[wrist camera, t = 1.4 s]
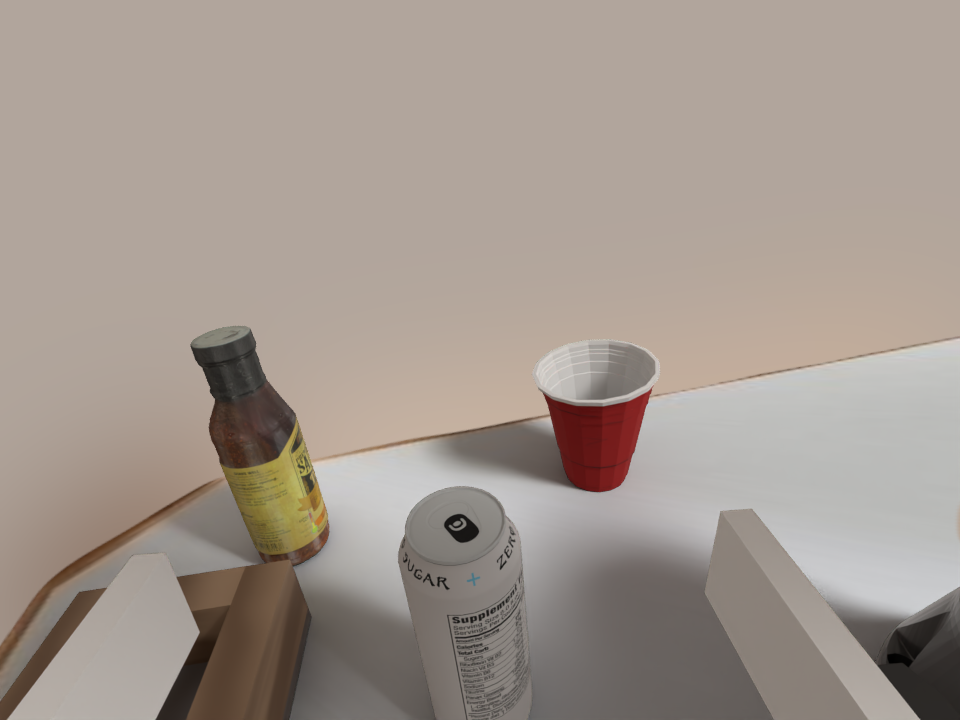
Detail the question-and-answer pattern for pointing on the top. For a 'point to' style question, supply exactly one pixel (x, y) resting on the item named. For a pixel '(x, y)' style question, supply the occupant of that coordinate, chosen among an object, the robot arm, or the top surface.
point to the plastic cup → (597, 406)
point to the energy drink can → (468, 605)
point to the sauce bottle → (261, 450)
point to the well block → (216, 645)
